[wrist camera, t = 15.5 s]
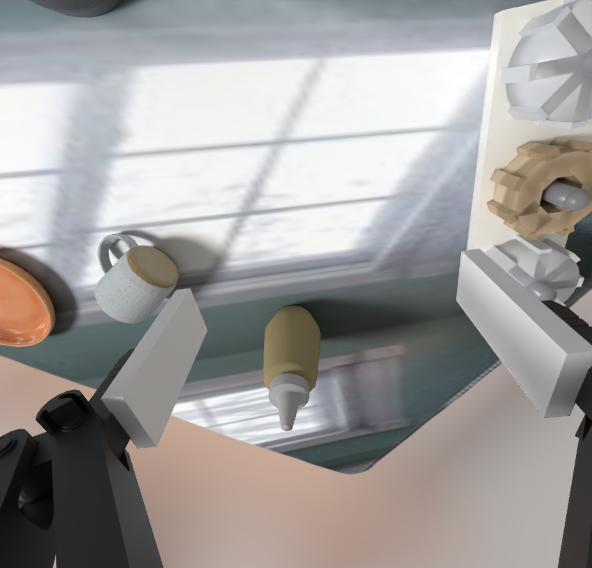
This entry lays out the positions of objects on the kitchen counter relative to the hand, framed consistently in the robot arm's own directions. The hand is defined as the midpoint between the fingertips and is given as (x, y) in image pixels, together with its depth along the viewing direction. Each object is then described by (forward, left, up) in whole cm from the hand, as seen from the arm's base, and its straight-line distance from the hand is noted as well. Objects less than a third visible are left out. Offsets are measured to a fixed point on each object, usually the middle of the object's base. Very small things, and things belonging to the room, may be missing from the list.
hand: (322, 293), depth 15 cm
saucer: (+9, -48, -25) cm, 55 cm away
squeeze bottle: (+20, -6, -25) cm, 32 cm away
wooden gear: (+4, +24, -23) cm, 34 cm away
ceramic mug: (+7, -25, -25) cm, 36 cm away
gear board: (+4, +24, -25) cm, 35 cm away
